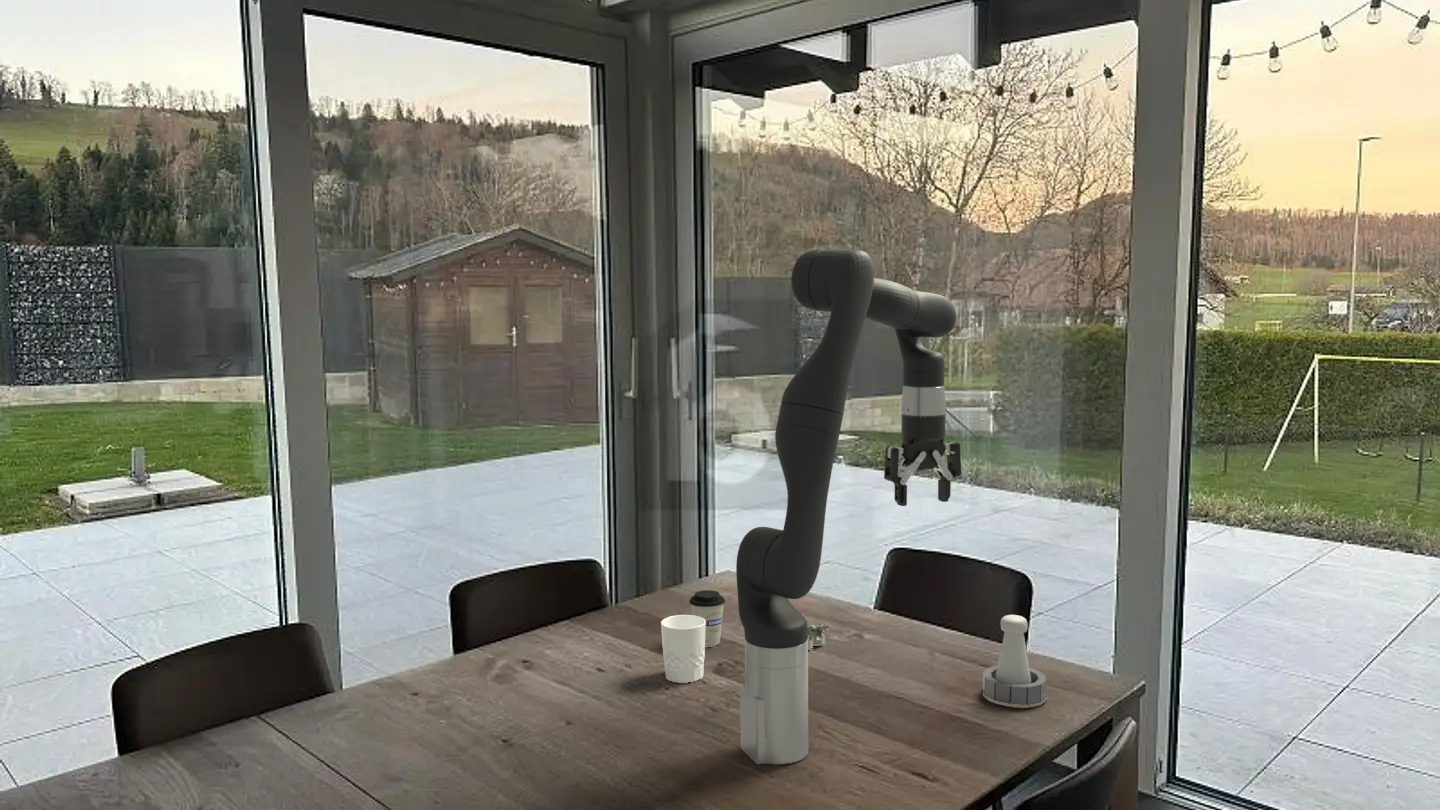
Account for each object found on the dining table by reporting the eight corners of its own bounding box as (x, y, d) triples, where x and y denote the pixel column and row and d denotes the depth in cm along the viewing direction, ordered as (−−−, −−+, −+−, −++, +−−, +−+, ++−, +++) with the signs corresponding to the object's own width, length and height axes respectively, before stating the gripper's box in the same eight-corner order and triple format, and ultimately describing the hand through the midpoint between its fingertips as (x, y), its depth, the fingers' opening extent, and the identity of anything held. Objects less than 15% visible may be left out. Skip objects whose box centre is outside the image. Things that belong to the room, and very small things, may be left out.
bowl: (1008, 712, 167) (1008, 691, 167) (969, 690, 176) (969, 670, 176) (1060, 702, 171) (1061, 681, 170) (1019, 680, 180) (1020, 661, 180)
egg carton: (831, 646, 200) (831, 626, 199) (802, 655, 195) (802, 634, 195) (793, 632, 208) (793, 612, 208) (765, 640, 204) (765, 620, 203)
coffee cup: (684, 641, 203) (683, 591, 202) (716, 636, 206) (715, 586, 205) (698, 652, 197) (697, 601, 196) (731, 646, 200) (731, 595, 198)
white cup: (709, 669, 188) (708, 615, 187) (704, 685, 180) (703, 629, 179) (665, 668, 189) (664, 614, 188) (658, 684, 181) (657, 628, 180)
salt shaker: (1032, 700, 170) (1033, 623, 169) (996, 698, 171) (997, 621, 170) (1029, 687, 176) (1030, 612, 175) (994, 685, 177) (995, 610, 176)
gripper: (899, 416, 175) (899, 511, 177) (970, 411, 181) (969, 503, 183) (876, 411, 182) (876, 502, 184) (945, 407, 188) (944, 495, 190)
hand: (922, 503), depth 183 cm, fingers open, 8 cm apart
